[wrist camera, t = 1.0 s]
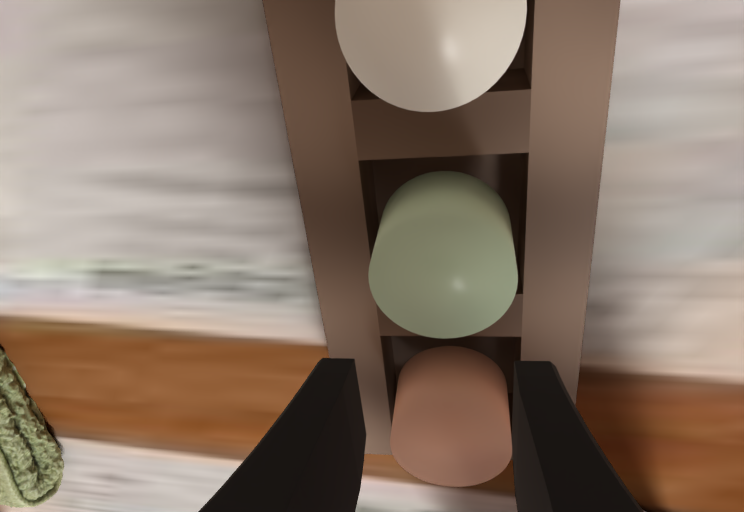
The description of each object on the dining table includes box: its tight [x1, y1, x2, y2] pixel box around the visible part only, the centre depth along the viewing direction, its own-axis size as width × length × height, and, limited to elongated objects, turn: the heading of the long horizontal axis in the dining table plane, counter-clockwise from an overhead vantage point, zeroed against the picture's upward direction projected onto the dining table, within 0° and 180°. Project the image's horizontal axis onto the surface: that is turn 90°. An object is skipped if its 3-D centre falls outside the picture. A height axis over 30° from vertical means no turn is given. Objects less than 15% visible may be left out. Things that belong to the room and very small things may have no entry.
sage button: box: [368, 171, 518, 339], centre depth 15 cm, size 4×4×2 cm
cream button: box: [335, 0, 527, 112], centre depth 12 cm, size 4×4×2 cm
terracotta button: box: [390, 346, 512, 487], centre depth 18 cm, size 4×4×2 cm
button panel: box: [262, 0, 620, 460], centre depth 17 cm, size 19×8×3 cm, turn 6°
